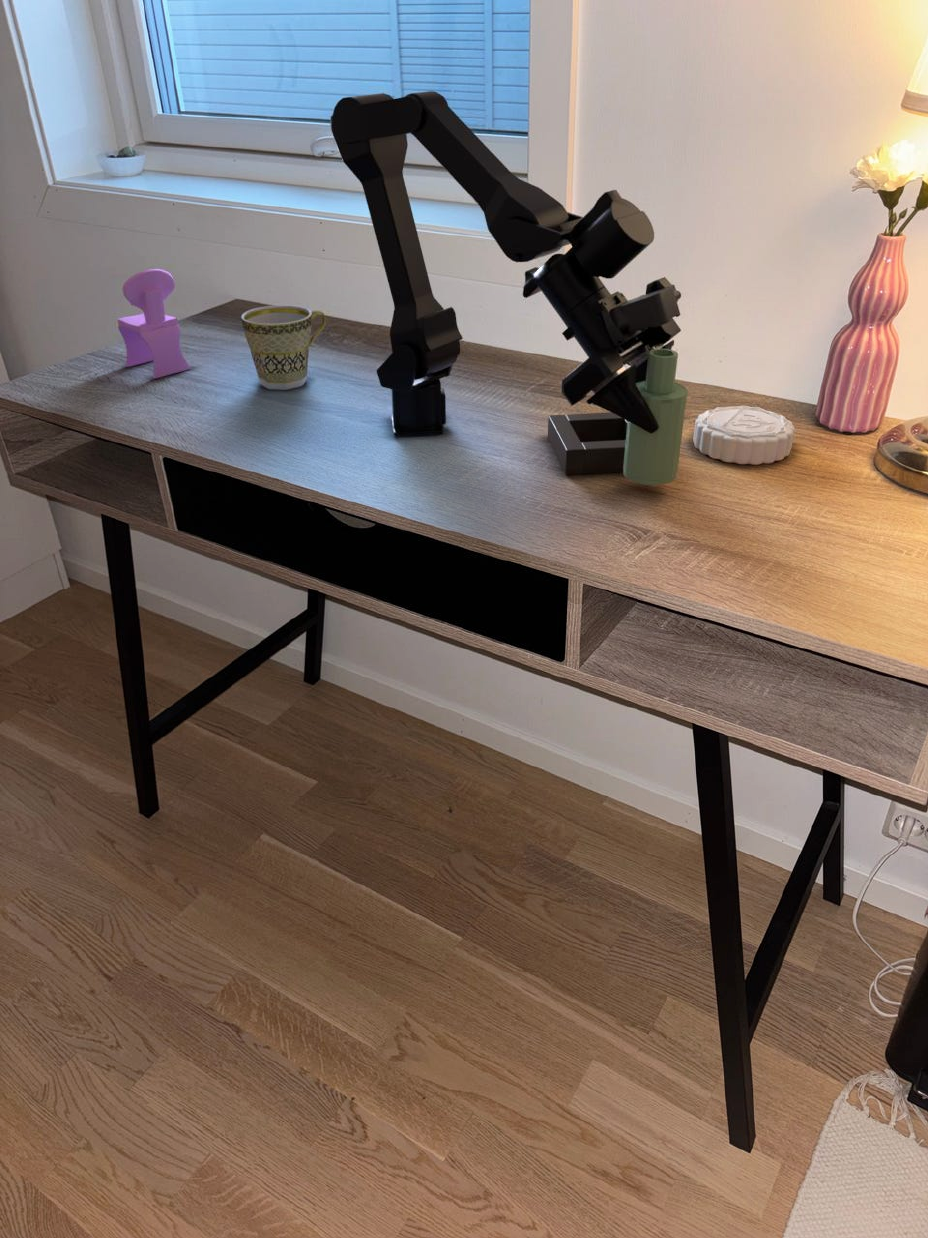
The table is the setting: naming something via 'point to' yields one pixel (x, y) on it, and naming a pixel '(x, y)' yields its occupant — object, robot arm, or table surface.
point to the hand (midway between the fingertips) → (667, 421)
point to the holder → (588, 442)
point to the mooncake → (743, 435)
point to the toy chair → (152, 324)
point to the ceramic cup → (280, 343)
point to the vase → (658, 451)
